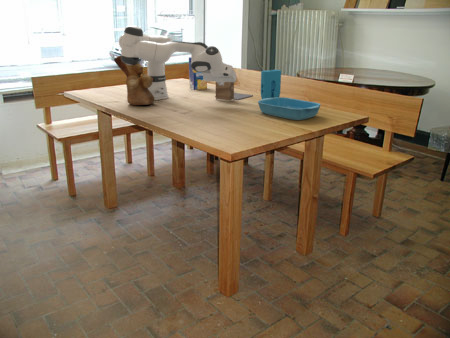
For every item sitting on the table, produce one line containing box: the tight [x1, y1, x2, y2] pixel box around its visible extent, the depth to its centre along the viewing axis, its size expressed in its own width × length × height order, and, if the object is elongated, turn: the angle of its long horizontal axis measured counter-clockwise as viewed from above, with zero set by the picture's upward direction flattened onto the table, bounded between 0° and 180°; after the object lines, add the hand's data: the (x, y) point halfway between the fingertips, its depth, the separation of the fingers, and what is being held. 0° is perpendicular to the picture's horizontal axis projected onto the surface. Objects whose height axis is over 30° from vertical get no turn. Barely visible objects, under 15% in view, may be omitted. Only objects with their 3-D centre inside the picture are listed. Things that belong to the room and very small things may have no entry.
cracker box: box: [188, 56, 208, 91], centre depth 326 cm, size 7×11×22 cm, turn 122°
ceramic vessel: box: [113, 54, 155, 106], centre depth 270 cm, size 16×22×30 cm
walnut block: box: [215, 81, 235, 103], centre depth 285 cm, size 6×10×16 cm, turn 53°
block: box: [260, 69, 282, 99], centre depth 272 cm, size 12×5×20 cm, turn 120°
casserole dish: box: [257, 96, 321, 121], centre depth 247 cm, size 37×22×7 cm, turn 42°
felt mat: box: [214, 92, 254, 101], centre depth 298 cm, size 18×18×1 cm
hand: (221, 84), depth 277 cm, fingers closed
